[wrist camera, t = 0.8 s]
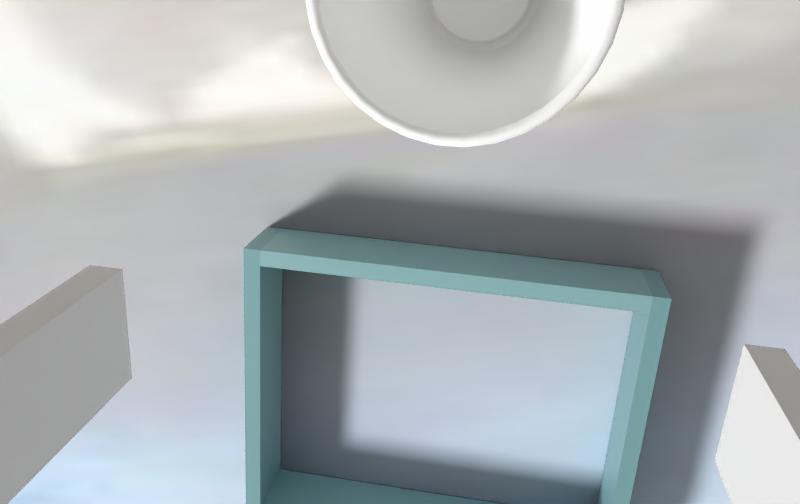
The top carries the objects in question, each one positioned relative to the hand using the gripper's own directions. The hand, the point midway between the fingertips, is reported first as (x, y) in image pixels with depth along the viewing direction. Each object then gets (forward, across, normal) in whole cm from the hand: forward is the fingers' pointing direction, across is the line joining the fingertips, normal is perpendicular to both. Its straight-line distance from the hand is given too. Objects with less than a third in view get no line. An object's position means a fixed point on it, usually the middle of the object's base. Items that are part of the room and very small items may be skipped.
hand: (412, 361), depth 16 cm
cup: (+21, 0, +7) cm, 23 cm away
